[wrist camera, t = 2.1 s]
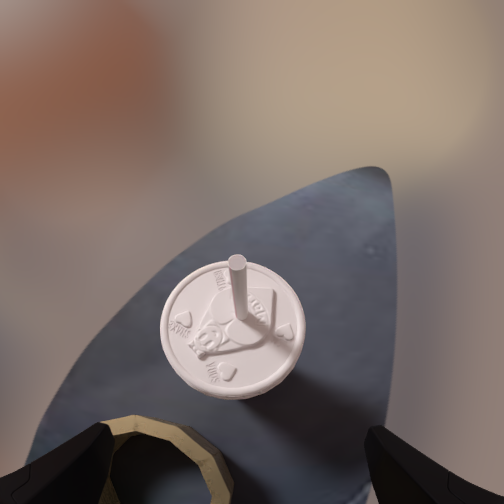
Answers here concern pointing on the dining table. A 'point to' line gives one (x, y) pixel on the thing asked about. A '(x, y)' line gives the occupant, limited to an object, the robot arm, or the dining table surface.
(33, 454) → the dining table surface
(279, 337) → the smoothie
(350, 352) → the dining table surface
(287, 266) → the dining table surface
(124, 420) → the collar
